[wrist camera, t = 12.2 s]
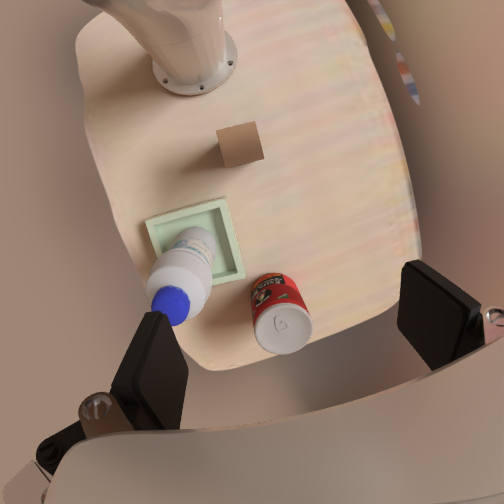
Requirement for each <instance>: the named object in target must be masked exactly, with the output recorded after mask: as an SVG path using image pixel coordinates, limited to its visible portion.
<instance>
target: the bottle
mask: <svg viewBox="0 0 504 504" xmlns="http://www.w3.org/2000/svg"><path fill="white" fill-rule="evenodd" d="M216 254H217V245H216V241H215V239H214V236H213V235H212V234H211V233H210V232H208V231H207V230H205V229H203V228H202V227H198V226H196V227H190V228H187V229H184V230H182V231H181V232H180V233H179V234H178V235H177V237H176V238H175V240H174V242H173V244H172V246H171V247H170V248H169V250H168V251H167V252H165V253H163V254H162V255H161V256H160V257H159V258H158V259H157V260H156V261H155V262H154V264H153V265H152V268H151V270H150V274H149V277H148V279H147V282H146V286H145V294H146V298H147V301H148V303H149V305H150V307H151V309H152V312H153V311H161V312H162V313H163V314H166V315H167V316H168V319H169V321H170V324H171V326H176V325H179V324H181V323H182V322H184V321H186V320H189V319H192V318H194V317H195V316H196V315H198V314H199V312H200V311H201V310H202V308H203V306H204V304H205V302H206V300H207V299H208V297H209V295H210V293H211V290H212V272H211V270H212V265H213V263H214V260H215V257H216Z"/></svg>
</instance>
